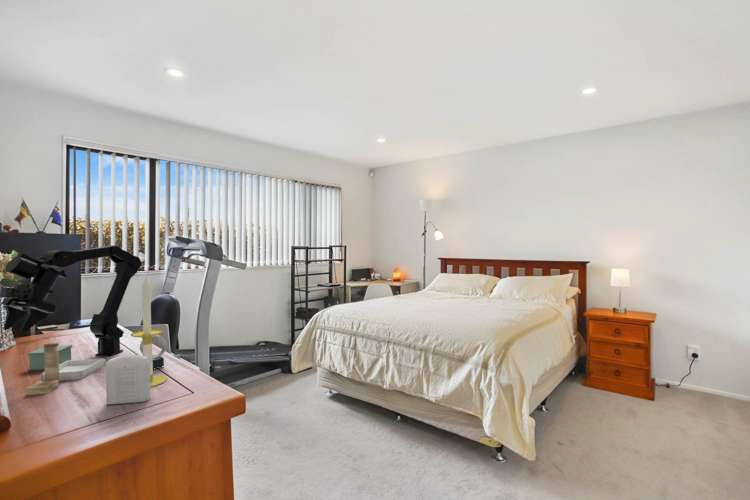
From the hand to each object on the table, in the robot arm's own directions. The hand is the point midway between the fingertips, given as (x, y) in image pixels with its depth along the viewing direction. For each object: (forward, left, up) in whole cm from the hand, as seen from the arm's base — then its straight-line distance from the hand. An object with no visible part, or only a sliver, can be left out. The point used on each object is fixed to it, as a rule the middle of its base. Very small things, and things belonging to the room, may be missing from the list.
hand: (13, 330), depth 116 cm
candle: (-44, 0, -16) cm, 47 cm away
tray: (-14, -6, -15) cm, 22 cm away
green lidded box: (+1, -13, -15) cm, 20 cm away
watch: (-36, -14, -16) cm, 42 cm away
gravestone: (-48, +13, -16) cm, 53 cm away
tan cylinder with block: (-18, +7, -15) cm, 24 cm away
